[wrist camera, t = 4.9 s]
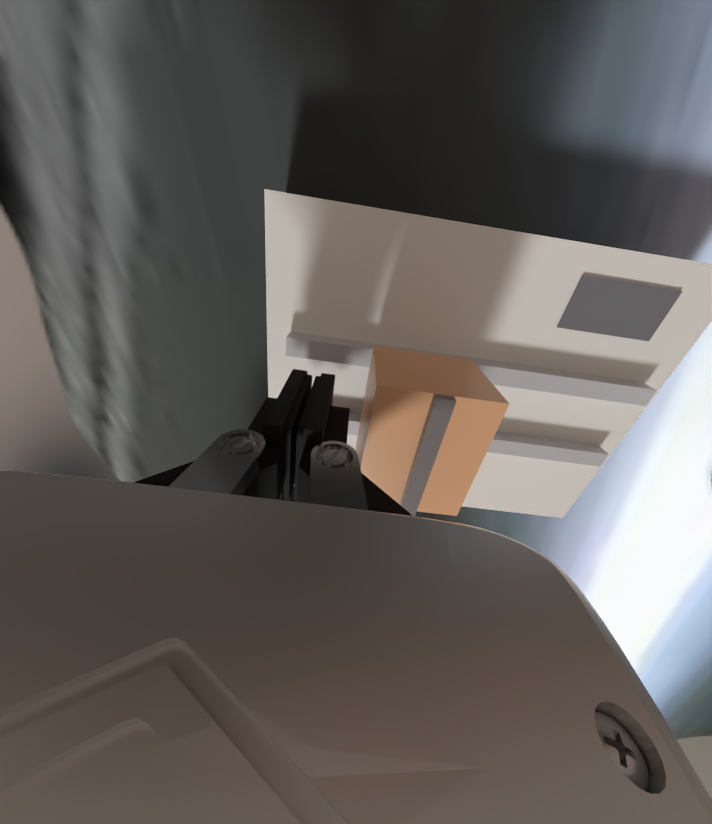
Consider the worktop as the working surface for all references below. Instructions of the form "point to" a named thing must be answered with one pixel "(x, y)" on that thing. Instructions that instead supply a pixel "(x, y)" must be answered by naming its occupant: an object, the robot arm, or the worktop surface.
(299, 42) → the worktop surface
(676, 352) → the panel
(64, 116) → the worktop surface
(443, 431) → the fader knob
